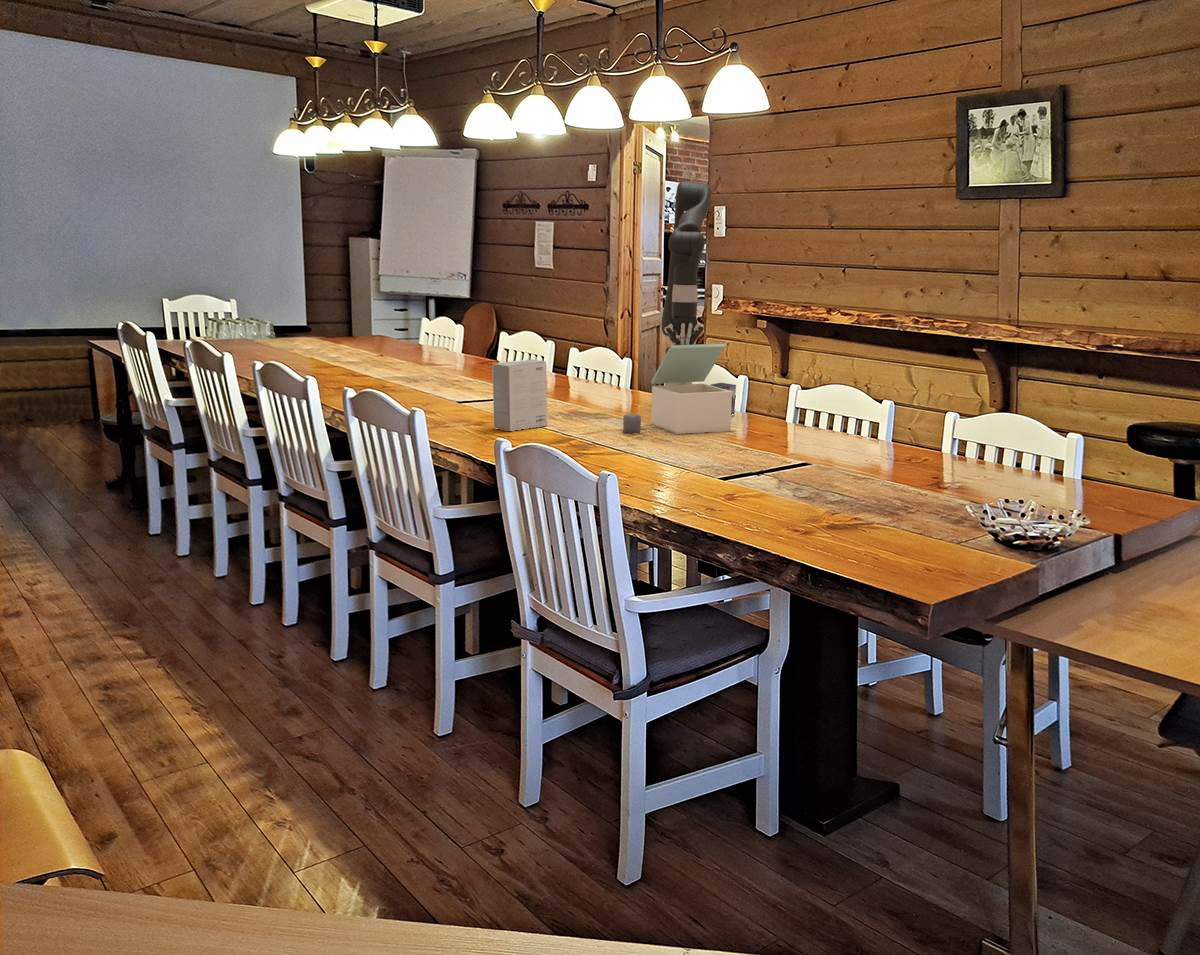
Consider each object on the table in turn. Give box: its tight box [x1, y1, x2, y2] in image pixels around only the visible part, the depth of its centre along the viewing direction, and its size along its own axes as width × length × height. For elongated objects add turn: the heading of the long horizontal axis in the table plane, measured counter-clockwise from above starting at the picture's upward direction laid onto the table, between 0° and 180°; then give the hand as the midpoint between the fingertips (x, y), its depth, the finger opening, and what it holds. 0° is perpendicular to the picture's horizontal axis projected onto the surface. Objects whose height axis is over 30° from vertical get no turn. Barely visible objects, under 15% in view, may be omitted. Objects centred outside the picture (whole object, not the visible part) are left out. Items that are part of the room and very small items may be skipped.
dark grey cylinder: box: [622, 413, 642, 435], centre depth 316 cm, size 5×5×5 cm
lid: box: [651, 343, 726, 385], centre depth 323 cm, size 18×18×1 cm
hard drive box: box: [491, 358, 548, 432], centre depth 320 cm, size 16×8×20 cm, turn 134°
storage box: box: [650, 383, 732, 435], centre depth 323 cm, size 18×18×12 cm
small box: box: [710, 382, 737, 415], centre depth 344 cm, size 11×6×10 cm, turn 143°
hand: (682, 357), depth 321 cm, fingers closed
